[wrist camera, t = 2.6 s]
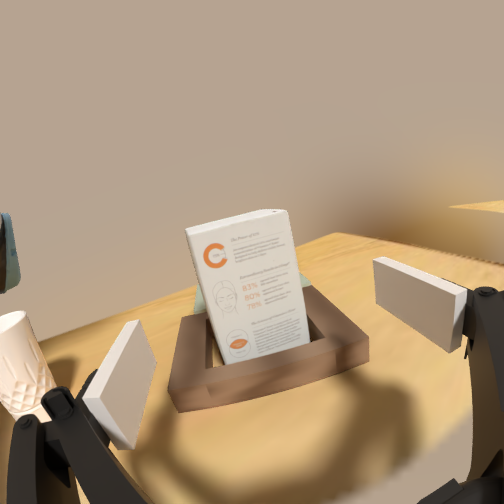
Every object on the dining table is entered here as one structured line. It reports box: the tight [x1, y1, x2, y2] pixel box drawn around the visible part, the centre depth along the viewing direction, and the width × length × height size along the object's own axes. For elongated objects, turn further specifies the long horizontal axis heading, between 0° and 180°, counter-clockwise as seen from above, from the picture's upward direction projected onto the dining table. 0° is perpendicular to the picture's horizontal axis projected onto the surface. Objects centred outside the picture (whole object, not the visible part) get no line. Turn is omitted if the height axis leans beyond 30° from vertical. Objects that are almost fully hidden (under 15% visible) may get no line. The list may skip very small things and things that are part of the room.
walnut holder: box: [167, 285, 369, 413], centre depth 27 cm, size 16×14×2 cm
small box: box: [185, 209, 310, 365], centre depth 25 cm, size 8×6×13 cm
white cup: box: [0, 311, 57, 423], centre depth 18 cm, size 8×8×10 cm
